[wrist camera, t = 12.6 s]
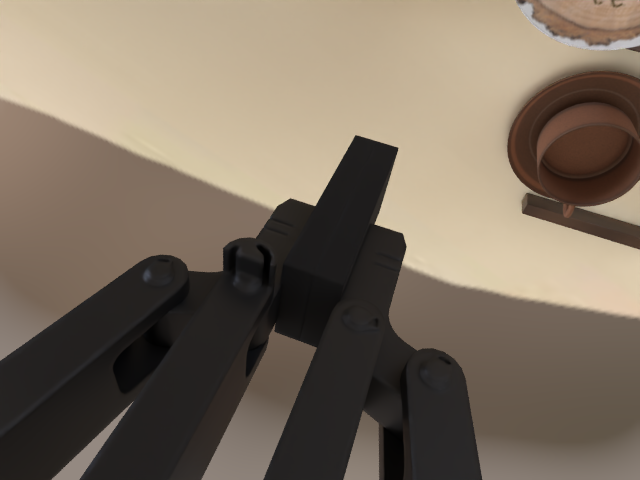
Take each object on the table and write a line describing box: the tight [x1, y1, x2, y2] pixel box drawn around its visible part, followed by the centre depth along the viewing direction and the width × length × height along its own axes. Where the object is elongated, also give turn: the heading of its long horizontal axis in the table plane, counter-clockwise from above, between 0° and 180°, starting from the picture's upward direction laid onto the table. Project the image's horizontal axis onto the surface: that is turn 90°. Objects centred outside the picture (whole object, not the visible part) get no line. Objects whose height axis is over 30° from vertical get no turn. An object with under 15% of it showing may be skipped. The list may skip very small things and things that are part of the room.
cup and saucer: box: [507, 71, 640, 218], centre depth 38 cm, size 12×12×6 cm
